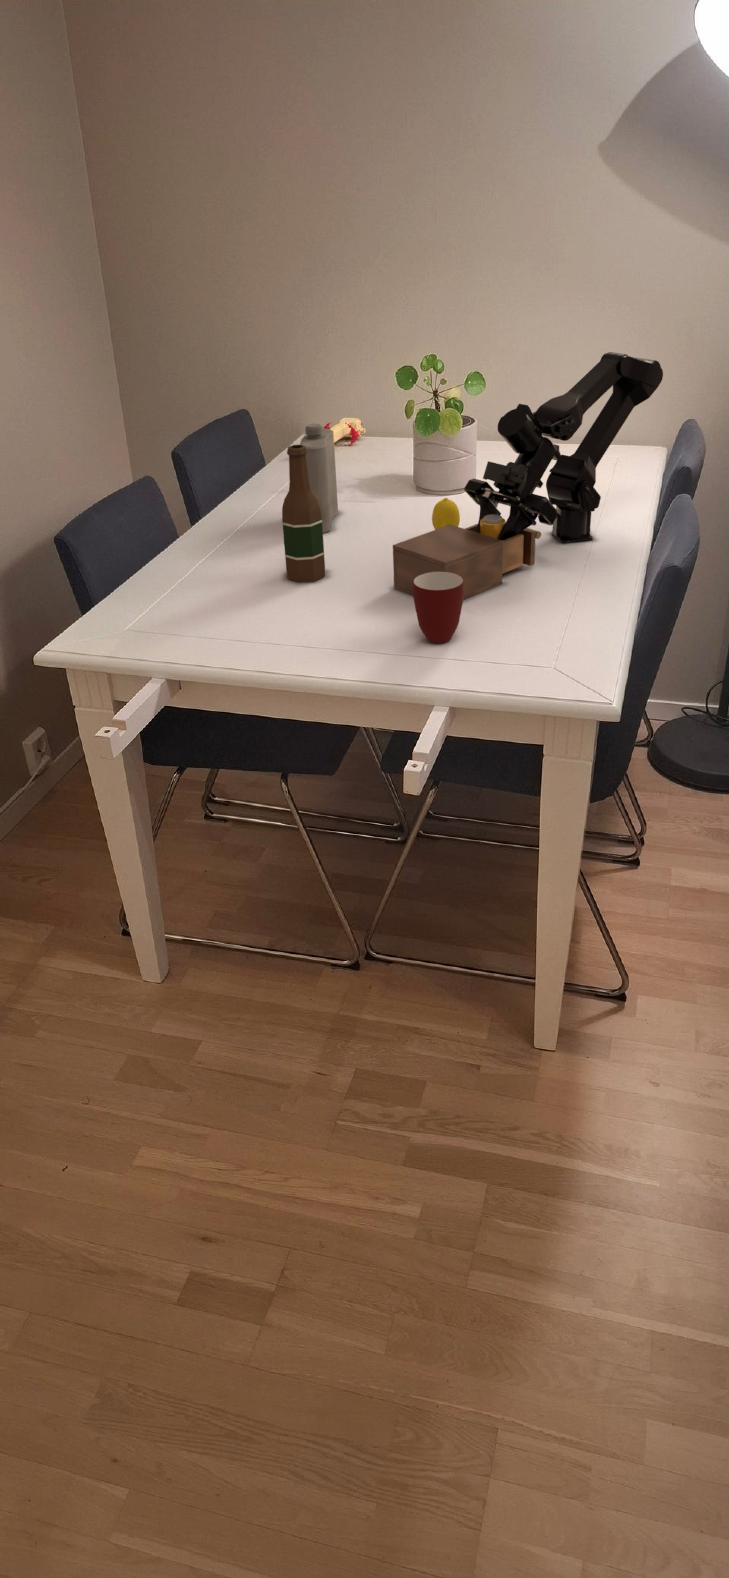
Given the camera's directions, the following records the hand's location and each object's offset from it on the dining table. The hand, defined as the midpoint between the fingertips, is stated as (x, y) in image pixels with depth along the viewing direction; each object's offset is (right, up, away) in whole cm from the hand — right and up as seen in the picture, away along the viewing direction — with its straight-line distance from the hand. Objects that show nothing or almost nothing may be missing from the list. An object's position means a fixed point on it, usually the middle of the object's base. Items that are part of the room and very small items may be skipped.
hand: (487, 541), depth 201 cm
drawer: (+2, -3, +4) cm, 5 cm away
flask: (-32, +11, +31) cm, 46 cm away
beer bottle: (-34, -5, +5) cm, 34 cm away
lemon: (-6, +5, +20) cm, 21 cm away
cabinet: (-7, -9, -3) cm, 12 cm away
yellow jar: (+1, -2, +2) cm, 3 cm away
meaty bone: (-30, +43, +81) cm, 96 cm away
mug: (-10, -20, -20) cm, 30 cm away
